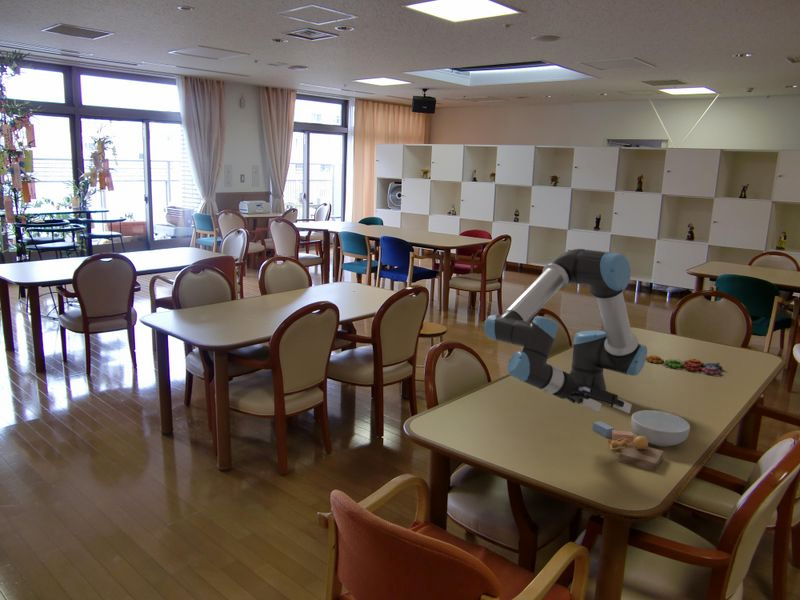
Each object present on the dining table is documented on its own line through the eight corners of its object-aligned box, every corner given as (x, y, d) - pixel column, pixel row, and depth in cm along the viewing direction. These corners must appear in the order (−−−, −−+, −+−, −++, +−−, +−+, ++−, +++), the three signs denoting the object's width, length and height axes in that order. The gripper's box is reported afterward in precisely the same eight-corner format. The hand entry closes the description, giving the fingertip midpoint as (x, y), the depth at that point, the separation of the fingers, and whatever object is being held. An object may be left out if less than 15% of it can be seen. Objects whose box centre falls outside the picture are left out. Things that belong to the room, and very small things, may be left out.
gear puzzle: (642, 364, 278) (643, 355, 278) (648, 356, 292) (649, 347, 291) (719, 378, 263) (721, 369, 262) (723, 369, 276) (724, 360, 276)
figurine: (643, 444, 180) (602, 435, 187) (643, 463, 182) (602, 453, 189) (652, 431, 186) (612, 423, 194) (652, 450, 188) (612, 440, 195)
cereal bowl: (619, 439, 197) (622, 418, 196) (643, 426, 209) (645, 406, 207) (673, 458, 185) (676, 436, 184) (695, 442, 197) (698, 421, 196)
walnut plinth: (618, 463, 182) (620, 453, 182) (627, 451, 191) (628, 442, 190) (655, 473, 177) (656, 463, 176) (662, 460, 185) (663, 450, 185)
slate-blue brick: (592, 431, 204) (593, 422, 203) (599, 429, 205) (600, 421, 204) (605, 438, 198) (606, 429, 198) (613, 436, 200) (614, 428, 199)
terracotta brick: (612, 442, 195) (613, 433, 195) (611, 438, 198) (612, 429, 198) (632, 444, 194) (633, 435, 194) (631, 440, 197) (632, 431, 196)
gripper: (530, 394, 194) (585, 418, 199) (579, 394, 170) (640, 422, 176) (537, 371, 196) (591, 396, 201) (586, 368, 172) (646, 396, 178)
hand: (614, 408), depth 189 cm, fingers open, 13 cm apart
